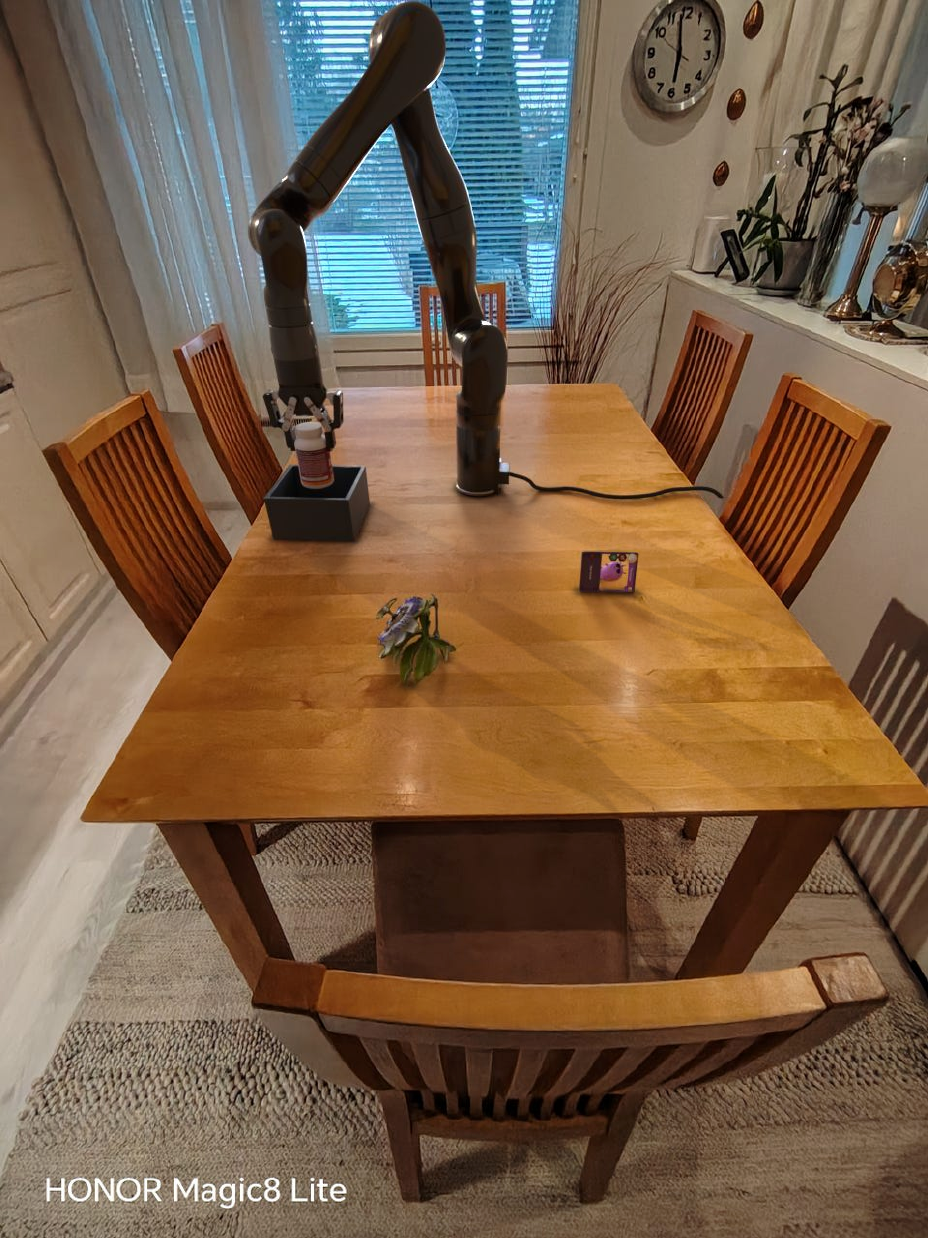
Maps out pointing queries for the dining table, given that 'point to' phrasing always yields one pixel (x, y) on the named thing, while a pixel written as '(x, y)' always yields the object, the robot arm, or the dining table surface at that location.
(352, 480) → the open storage bin
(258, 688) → the dining table surface
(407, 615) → the passion flower
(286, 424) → the robot arm
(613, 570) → the game card
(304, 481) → the pill bottle
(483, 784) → the dining table surface
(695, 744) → the dining table surface
